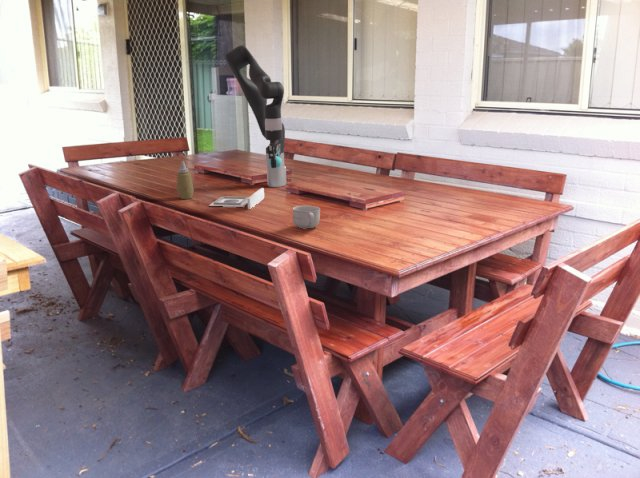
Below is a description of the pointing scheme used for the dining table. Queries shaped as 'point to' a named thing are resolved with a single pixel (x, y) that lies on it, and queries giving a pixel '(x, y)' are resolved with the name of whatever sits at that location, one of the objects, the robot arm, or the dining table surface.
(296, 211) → the teacup
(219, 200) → the pad
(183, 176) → the squeeze bottle
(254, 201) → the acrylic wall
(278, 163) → the teal ball
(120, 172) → the dining table surface
